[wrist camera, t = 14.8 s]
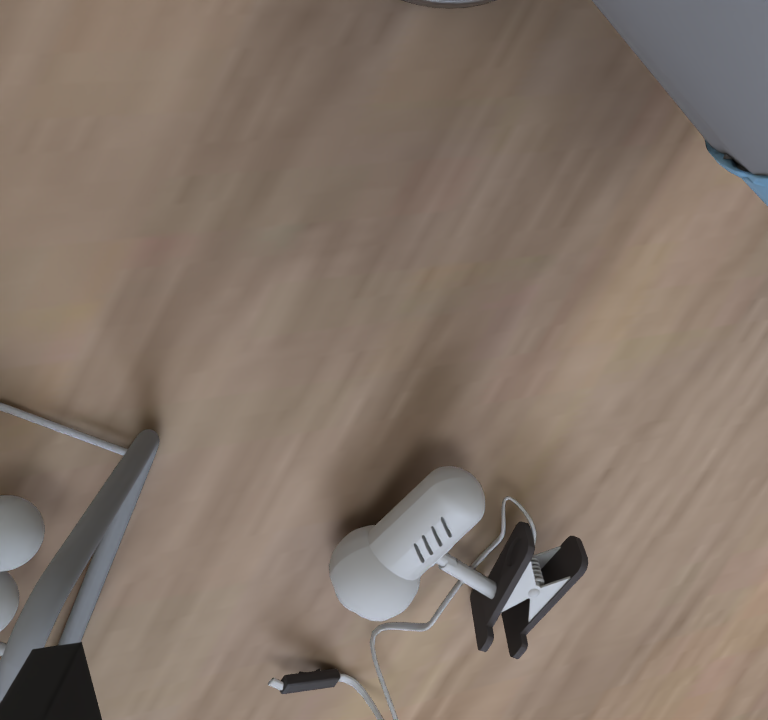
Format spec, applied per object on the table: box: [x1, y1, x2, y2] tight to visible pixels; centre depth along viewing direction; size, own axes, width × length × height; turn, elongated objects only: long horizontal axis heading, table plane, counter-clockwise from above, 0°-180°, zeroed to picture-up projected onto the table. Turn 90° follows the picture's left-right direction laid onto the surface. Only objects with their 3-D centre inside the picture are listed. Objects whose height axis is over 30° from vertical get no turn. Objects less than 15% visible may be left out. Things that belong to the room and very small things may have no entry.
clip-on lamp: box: [268, 466, 588, 720], centre depth 42 cm, size 12×6×18 cm
